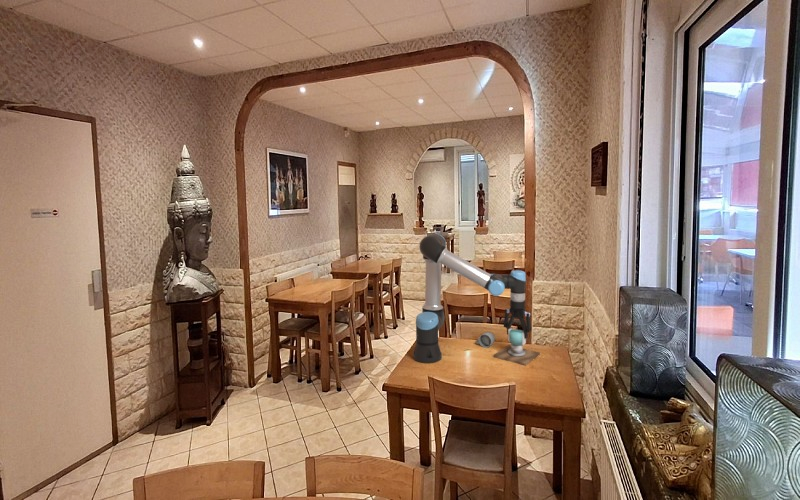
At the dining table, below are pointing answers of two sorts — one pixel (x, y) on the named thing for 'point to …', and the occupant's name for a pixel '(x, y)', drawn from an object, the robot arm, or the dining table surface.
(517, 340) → the turquoise round jar
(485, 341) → the ceramic mug
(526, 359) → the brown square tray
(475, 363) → the dining table surface
